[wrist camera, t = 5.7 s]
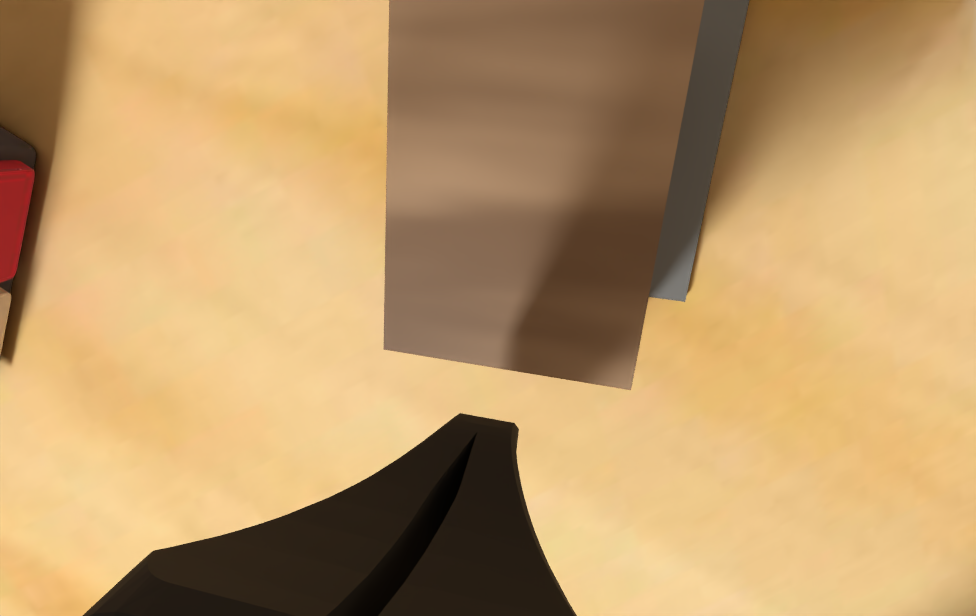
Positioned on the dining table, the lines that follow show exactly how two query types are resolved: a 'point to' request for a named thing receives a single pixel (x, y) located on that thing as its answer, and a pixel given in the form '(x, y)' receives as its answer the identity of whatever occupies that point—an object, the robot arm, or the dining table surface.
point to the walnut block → (530, 178)
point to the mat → (697, 145)
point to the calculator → (12, 211)
